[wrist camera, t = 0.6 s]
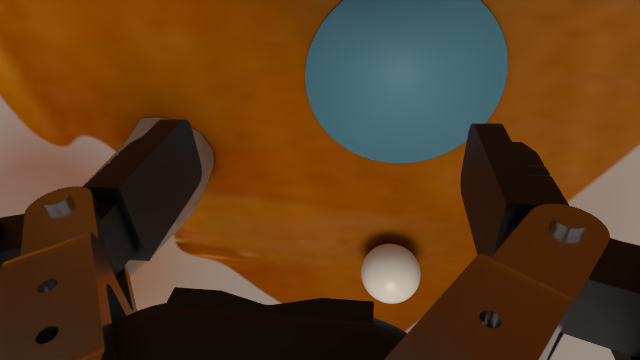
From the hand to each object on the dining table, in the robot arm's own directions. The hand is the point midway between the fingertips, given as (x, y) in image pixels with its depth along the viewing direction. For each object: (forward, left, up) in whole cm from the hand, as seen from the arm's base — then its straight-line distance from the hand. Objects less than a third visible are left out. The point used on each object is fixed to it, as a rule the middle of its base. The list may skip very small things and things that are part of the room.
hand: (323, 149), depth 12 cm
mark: (+6, +3, -18) cm, 19 cm away
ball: (+24, +3, -15) cm, 29 cm away
